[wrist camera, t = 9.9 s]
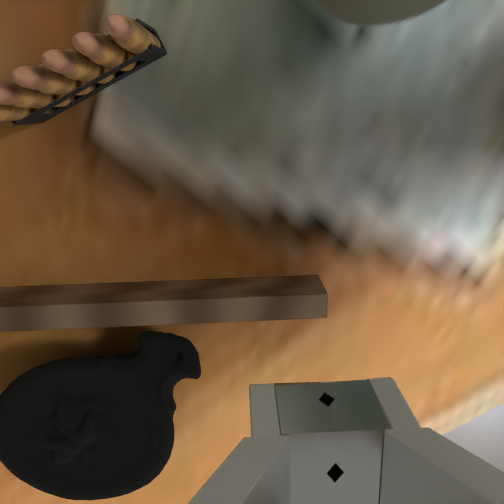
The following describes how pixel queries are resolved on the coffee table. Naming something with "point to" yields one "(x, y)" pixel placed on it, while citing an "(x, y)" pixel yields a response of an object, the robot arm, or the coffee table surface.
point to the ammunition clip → (78, 70)
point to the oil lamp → (96, 419)
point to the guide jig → (161, 303)
